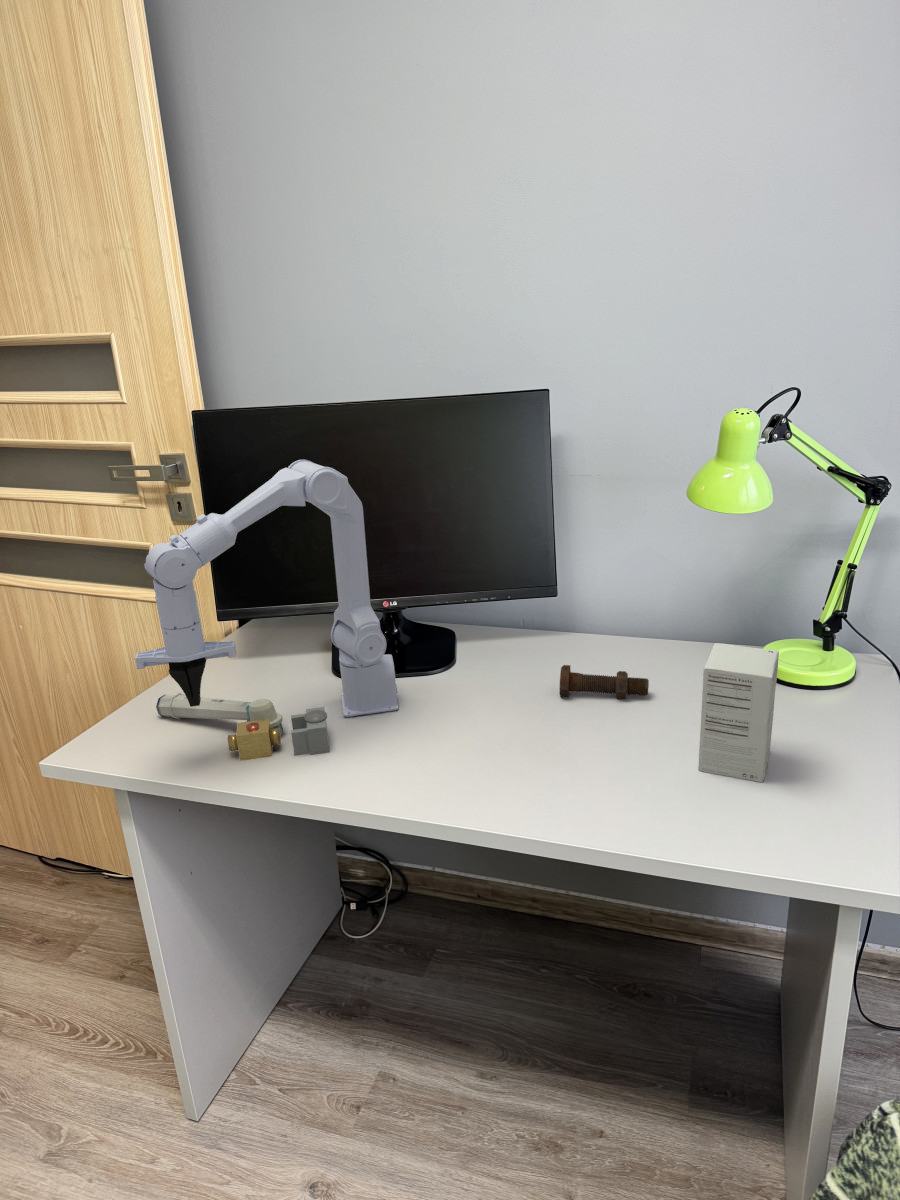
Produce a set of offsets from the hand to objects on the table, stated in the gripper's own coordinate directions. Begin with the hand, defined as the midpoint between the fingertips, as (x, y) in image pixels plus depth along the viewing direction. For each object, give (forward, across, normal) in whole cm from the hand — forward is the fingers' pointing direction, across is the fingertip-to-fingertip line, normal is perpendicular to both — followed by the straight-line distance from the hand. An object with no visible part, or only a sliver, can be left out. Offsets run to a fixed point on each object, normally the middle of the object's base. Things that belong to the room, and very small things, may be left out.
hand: (195, 703), depth 129 cm
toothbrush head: (+10, -2, -11) cm, 15 cm away
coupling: (+10, -17, 0) cm, 20 cm away
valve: (+10, -8, 0) cm, 13 cm away
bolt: (+10, -68, -2) cm, 68 cm away
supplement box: (+10, -78, +23) cm, 82 cm away
